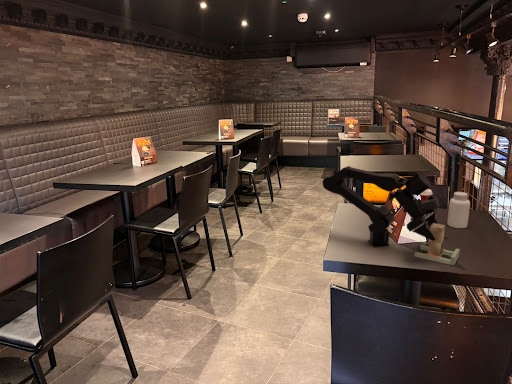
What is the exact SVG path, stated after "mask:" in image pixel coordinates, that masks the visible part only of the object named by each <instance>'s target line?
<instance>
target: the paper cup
mask: <svg viewBox="0 0 512 384" xmlns="http://www.w3.org/2000/svg"><path fill="white" fill-rule="evenodd" d="M431 195H434V194H433V191H432V190H431V189H429V188H428V189H427V190H425V191H424V192H423V193H421V194H420V196H421V201H425V200H428V197H429V196H431Z"/></svg>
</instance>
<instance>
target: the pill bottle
mask: <svg viewBox="0 0 512 384" xmlns="http://www.w3.org/2000/svg"><path fill="white" fill-rule="evenodd" d="M468 197H469V194H468V193H467V192H462V191H454V193H453V197H452V198H451V199H449V205H448V213H447V226H449V227H451V228H455V229H466V228H467V227H468V222H469V214H470V208H471V201H470V200H469V199H468Z"/></svg>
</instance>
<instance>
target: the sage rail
mask: <svg viewBox="0 0 512 384" xmlns="http://www.w3.org/2000/svg"><path fill="white" fill-rule="evenodd" d="M428 248H429V245H428V246H427V245H424V244H423V245H422V244H421V245H420V249H419V250H421V251H425V252H427V253H422V252H418V251H414V255H413V257H414V258H415V257H416V258H420V259H425V260H429V261H431V262H432V261H433V262H437V263H441V264H444V265H445V264H446V265H450V266H455V265H456V262H457V261H458V259H459V258H460V250H461V249H460V248H455V250H454V251H453V250H447V249H445V248H443V252H442V256H443V255H445V256H448V257H450V259H449V258H445V257H442V256H441V257H440V256H436V255H431V254H428Z"/></svg>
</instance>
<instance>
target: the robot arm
mask: <svg viewBox="0 0 512 384" xmlns="http://www.w3.org/2000/svg"><path fill="white" fill-rule="evenodd" d="M346 179H352V180H356V181H360V182H364V183H369V184H372V185H374V186H376V187H378V189H381V190H383V191H386V192H389V197H388V201H392V200H393V199H395V200H396V202H397V203H398V204H399V205H400V206H401V207H402V209H403V210H402V212H403V213H404V214H405V213H407V214H408V216H410V219H409V220H410V221H408V223H407V224H406V229H407V230H408V231H409V232H410V233H415V234H417V235H420V236H422V237H424V238H426V239H428V240H429V239H430V240H432V241H434V240H436V239H435V237H434V236H433V234H432V233H431V231H430V228H429V227H430V226H431V225H432V224H433V223H435V224H439V221H438V219H437V213H438V212H437V209H439V207H440V206H441V203H440V202H439V201H440V199H439V198H438V197H437V196H435V194H432V195H431V196H429V197H428V200H425V201H421V200H420V199H418V200H417V199H416V198H415V195H417V196H418V195H420V194H421V193H423V192H424V191H425V190H427V189H429V188H430V187H432V183H431V181H430V180H429V178H428V177H426V176H424V175H423V174H421V173H420V172H419V171H418V172H416V173H414V175H412V177H410V178H404V177H401V176H400V175H399V174H397V173H385V172H384V173H377V172H373V171H368V170H363V169H360V168H356V167H352V166H345V167H342V168H341V169H340V170H338V171H337V172H335V173H334V174H331V175H328V176H326V177H324V178H323V180H322V188H323V189H324V190H326V191H328V192H330V193H331V194H336V195H339V196H341V197H342V198H343V199H345V200H346V201H348V202H349V203H351V204H352V205H353V206H354V207H355V208H358V210H360V212H361V211H362V212H363V213H364V214H366V215H367V216H368V218H369V220H370V221H371V223H370V225H368V226H367V227H368V230H369V239H368V240H367V242H368V243H369V244H370V245H371V246H372V247H374V248H378V247H379V248H380V247H389V246H390V241H389V240H390V232H389V229H388V228H389V227H390V226H392V224H393V223H394V222H395V219H396V218H395V215H394V213H393V212H392V210H391V209H389V208H387V206H385V205H381V206H377V205H374V204H373V203H372V202H370V201H369V200H368V199H366V198H364V197H363V196H362V195H360V194H359V193H358V192H356V191H355V190H353V189H352V188H350V187H349V186H348V185H347V184H346V182H345V180H346ZM403 187H404V188H403ZM402 188H403V189H402ZM393 191H394V192H393Z"/></svg>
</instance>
